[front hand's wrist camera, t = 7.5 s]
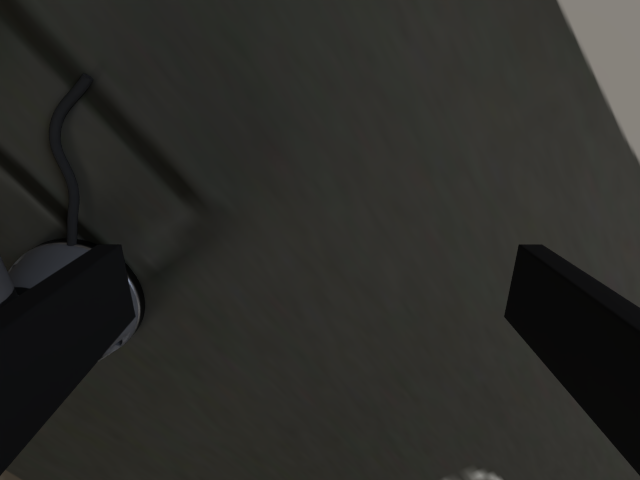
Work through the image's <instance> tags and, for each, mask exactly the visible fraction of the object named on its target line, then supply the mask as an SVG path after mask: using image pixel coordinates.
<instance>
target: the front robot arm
mask: <svg viewBox="0 0 640 480" xmlns="http://www.w3.org/2000/svg"><path fill="white" fill-rule="evenodd" d="M92 82H93V79H92V78H91V77H90V76H89V75H87V74H84V73H83V74H82V76H81V77H80V79H79V80H78V81H77V83H76V84H75V85H74V86H73V88H72V89H71V90H70V91H69V92H68V93H67V95H66V96H65V97H64V98H63V99H62V101H61V102H60V103H59V105H58V106H57V108H56V109H55V111H54V113H53V116H52V119H51V123H50V129H49V140H50V146H51V149H52V152H53V155H54V157H55V159H56V161H57V163H58V165H59V167H60V169H61V171H62V173H63V175H64V178H65V180H66V183H67V186H68V191H69V206H68V216H67V239H56V240H52V241H48V242H45V243H43V244H41V245H39V246H37V247H35V248H33V249H31V250H29V251H27V252H26V253H24V254H23V255H22V256H21V257H20V258H19V259H18V260H17V261H16V262H15V263H14V264H13V265H12V267H11V268H10V270H9V271H7V269H6V267H5V265H4V263H3V261H2V258H1V256H0V475H1V474H2V473H3V472H4V471H5V469H6V468H7V467H8V466H9V465H10V464H11V462H12V461H13V460H14V459H15V458H16V456H17V455H18V454H19V453H20V452H21V451H22V449H23V448H24V447H25V446H26V445H27V444H28V442H29V441H30V440H31V439H32V438H33V437H34V435H35V434H36V433H37V432H38V431H39V430H40V428H41V427H42V426H43V425H44V424H45V423H46V421H47V420H48V419H49V418H50V417H51V415H52V414H53V413H54V412H55V411H56V410H57V408H58V407H59V406H60V405H61V404H62V403H63V401H64V400H65V399H66V398H67V397H68V396H69V394H70V393H71V392H72V391H73V390H74V389H75V387H76V386H77V385H78V384H79V383H80V381H81V380H82V379H83V378H84V377H85V376H86V374H87V373H88V372H89V371H90V370H91V369H92V367H93V366H94V365H95V364H96V363H97V362H98V361H99V359H100V360H101V358H102V359H103V358H104V357H106V355H109V354H111V353H112V352H114V351H115V350H117V349H118V348H120V347H121V346H123V345H124V344H125V343H126V342H127V341H128V340H129V339H130V338H131V337H132V336H133V334H134V333H135V332H136V331H137V329H138V328H139V326H140V324H141V322H142V320H143V316H144V311H145V300H144V294H143V291H142V288H141V285H140V283H139V281H138V279H137V277H136V276H135V274H134V273H133V271H132V270H131V269H130V268H129V267H128V265H127V264H126V263H125V261H124V256H123V251H122V246H121V245H97V244H94V243H91V242H88V241H84V240H78V239H77V222H78V210H79V189H78V185H77V181H76V178H75V176H74V173H73V171H72V169H71V167H70V165H69V163H68V161H67V159H66V157H65V155H64V152H63V149H62V146H61V140H60V134H61V127H62V123H63V121H64V118H65V116H66V115H67V113H68V112H69V110H70V109H71V108H72V106H73V105H74V104H75V103H76V102H77V101H78V100H79V98H80V97H81V96H82V95H83V94H84V93H85V91H86V90H87V89H88V87H89V86H90V85H91V83H92ZM504 317H505V318H506V319H507V321H508V322H509V323H510V324H511V325H512V326H513V328H514V329H515V330H516V331H517V332H518V333H519V335H520V336H521V337H522V338H523V339H524V340H525V342H526V343H527V344H528V345H529V346H530V348H531V349H532V350H533V351H534V352H535V353H536V355H537V356H538V357H539V358H540V359H541V360H542V362H543V363H544V364H545V365H546V366H547V367H548V369H549V370H550V371H551V372H552V373H553V374H554V376H555V377H556V378H557V379H558V380H559V381H560V383H561V384H562V385H563V386H564V387H565V389H566V390H567V391H568V392H569V393H570V394H571V396H572V397H573V398H574V399H575V400H576V401H577V403H578V404H579V405H580V406H581V407H582V408H583V410H584V411H585V412H586V413H587V414H588V415H589V417H590V418H591V419H592V420H593V421H594V423H595V424H596V425H597V426H598V427H599V428H600V430H601V431H602V432H603V433H604V434H605V435H606V437H607V438H608V439H609V440H610V441H611V442H612V444H613V445H614V446H615V447H616V448H617V449H618V451H619V452H620V453H621V454H622V455H623V456H624V458H625V459H626V460H627V461H628V462H629V464H630V465H631V466H632V467H633V468H634V469H635V471H636V472H637V473H638V474H639V475H640V308H639V307H638V306H636V305H635V304H633V303H631V302H630V301H628V300H627V299H625V298H624V297H622V296H621V295H619V294H618V293H616V292H614V291H613V290H611V289H610V288H608V287H607V286H605V285H604V284H602V283H601V282H599V281H597V280H596V279H594V278H593V277H591V276H590V275H588V274H587V273H585V272H584V271H582V270H581V269H579V268H577V267H576V266H574V265H573V264H571V263H570V262H568V261H567V260H565V259H564V258H562V257H560V256H559V255H557V254H556V253H554V252H553V251H551V250H550V249H548V248H547V247H545V246H543V245H519V246H518V251H517V256H516V261H515V266H514V271H513V276H512V281H511V286H510V291H509V296H508V301H507V306H506V310H505V315H504Z"/></svg>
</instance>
